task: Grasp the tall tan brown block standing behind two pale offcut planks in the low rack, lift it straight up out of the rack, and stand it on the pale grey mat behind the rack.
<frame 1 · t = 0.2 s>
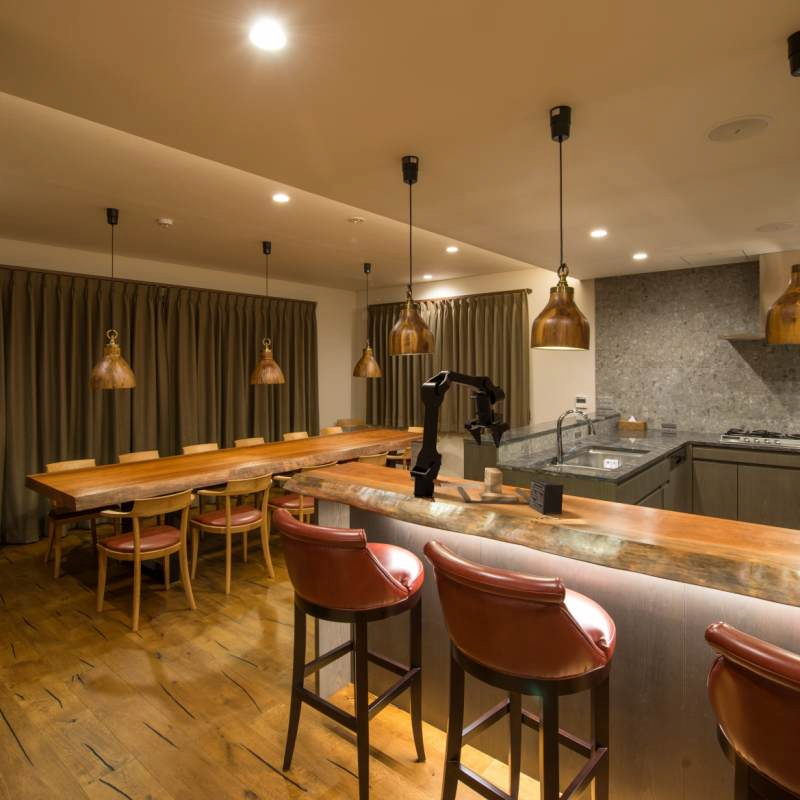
hand: (488, 446, 202), 15 cm above the table, tool pointing down, fingers open, 9 cm apart
small box: (545, 515, 159), on the table
mat: (462, 488, 196), on the table
upper offcut: (498, 500, 170), point 1 cm above the table, touching lower offcut
lower offcut: (498, 506, 170), on the table, touching upper offcut
tan brown block: (492, 498, 179), on the table
rack: (494, 500, 176), on the table
coffee box: (422, 479, 213), on the table
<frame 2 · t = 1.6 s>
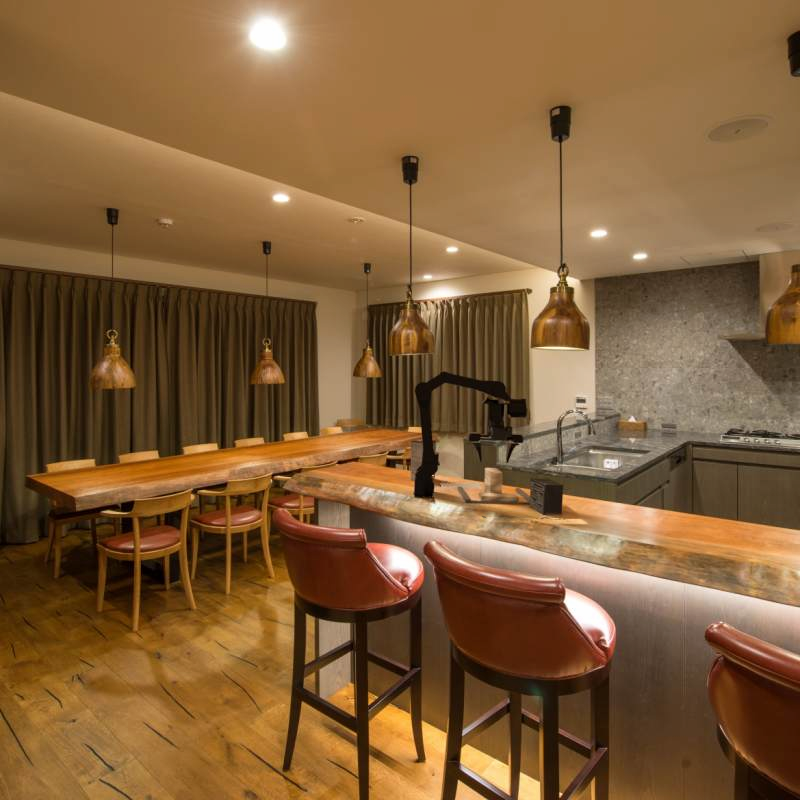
hand: (493, 462, 179), 13 cm above the table, tool pointing down, fingers open, 9 cm apart
nothing on the table moved.
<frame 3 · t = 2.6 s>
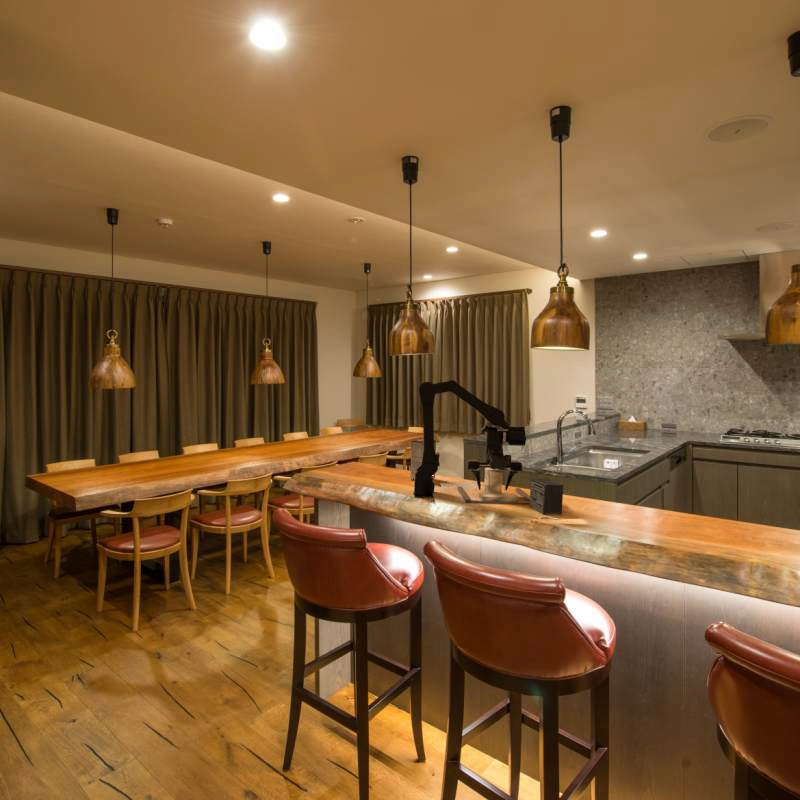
hand: (492, 489, 179), 3 cm above the table, tool pointing down, fingers open, 9 cm apart
nothing on the table moved.
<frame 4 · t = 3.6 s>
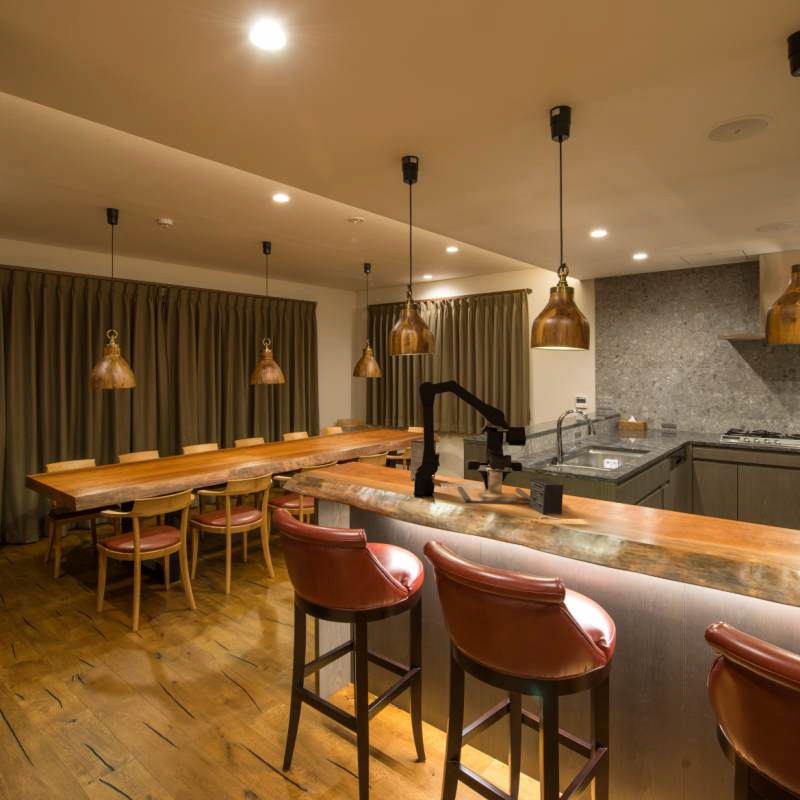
hand: (492, 490, 179), 3 cm above the table, tool pointing down, fingers closed on tan brown block, 4 cm apart
tan brown block: (492, 498, 179), on the table, touching gripper
everything else where it was.
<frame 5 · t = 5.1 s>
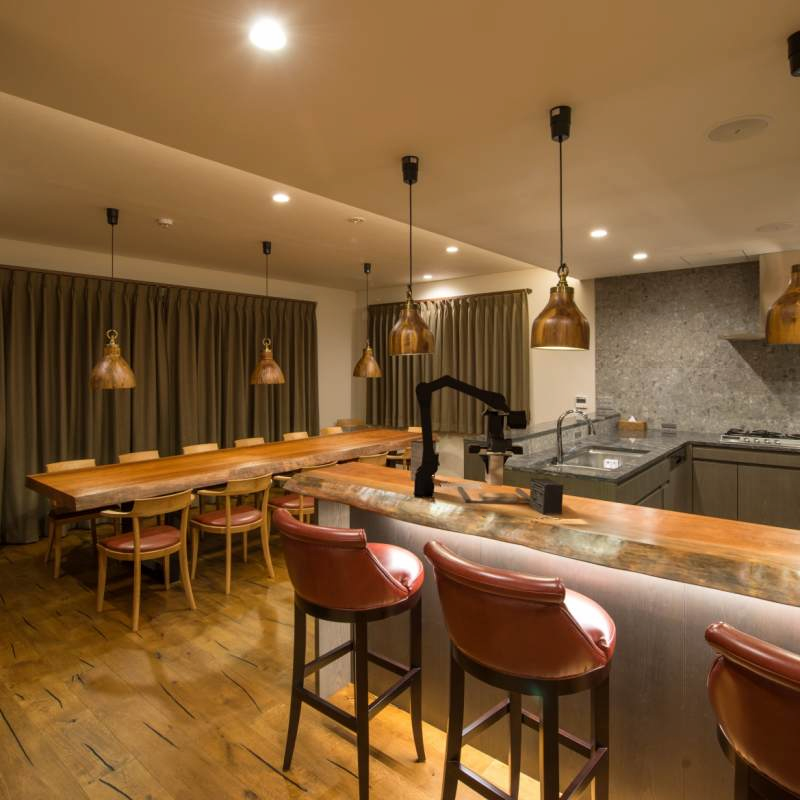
hand: (493, 474, 179), 9 cm above the table, tool pointing down, fingers closed on tan brown block, 4 cm apart
upper offcut: (498, 500, 170), point 1 cm above the table
lower offcut: (498, 507, 170), on the table
tan brown block: (493, 482, 179), point 6 cm above the table, touching gripper
everything else where it was.
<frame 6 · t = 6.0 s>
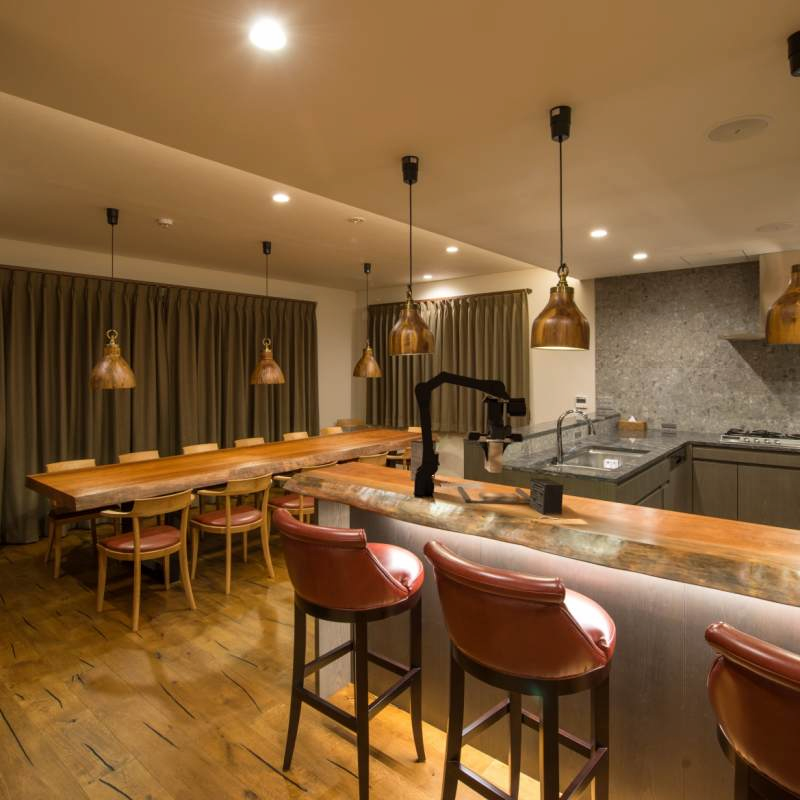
hand: (493, 461, 179), 13 cm above the table, tool pointing down, fingers closed on tan brown block, 4 cm apart
upper offcut: (498, 500, 170), point 1 cm above the table, touching lower offcut
lower offcut: (498, 506, 170), on the table, touching upper offcut
tan brown block: (492, 470, 179), point 10 cm above the table, touching gripper
everything else where it was.
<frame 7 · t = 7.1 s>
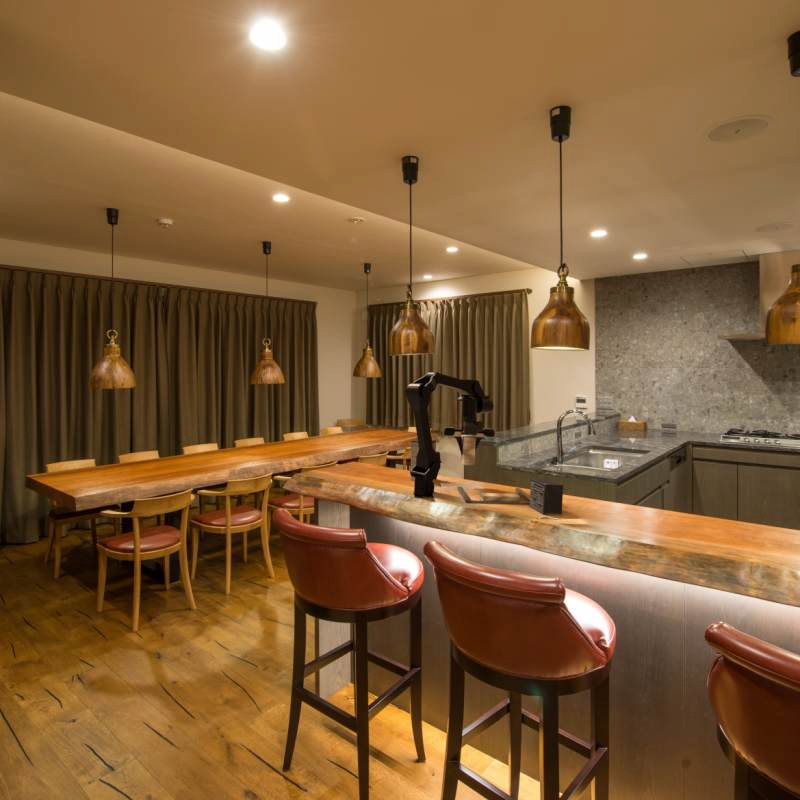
hand: (467, 454, 193), 13 cm above the table, tool pointing down, fingers closed on tan brown block, 4 cm apart
tan brown block: (467, 463, 194), point 10 cm above the table, touching gripper
everything else where it was.
when the fingers open (4 cm above the table, at t = 9.8 s): tan brown block stays where it is, resting on mat.
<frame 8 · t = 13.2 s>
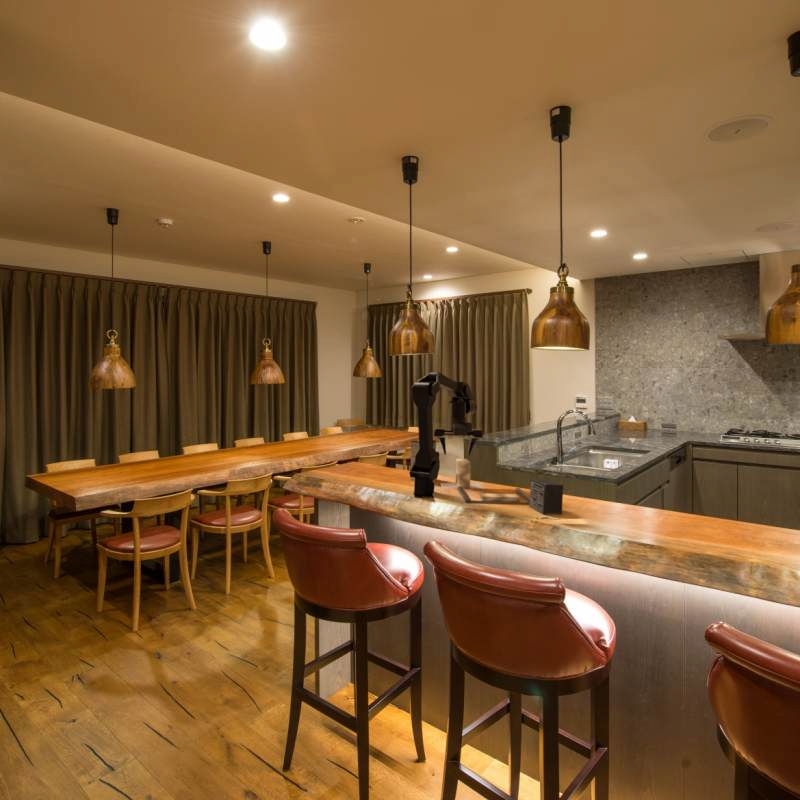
hand: (456, 455, 200), 12 cm above the table, tool pointing down, fingers open, 9 cm apart
tan brown block: (462, 487, 196), resting on mat
everything else where it was.
at the end: tan brown block inside the target area on the mat (0.0 cm from its centre), point 0.5 cm above the mat's base; tan brown block tilted 0°; upper offcut moved 0.7 cm from its start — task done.
